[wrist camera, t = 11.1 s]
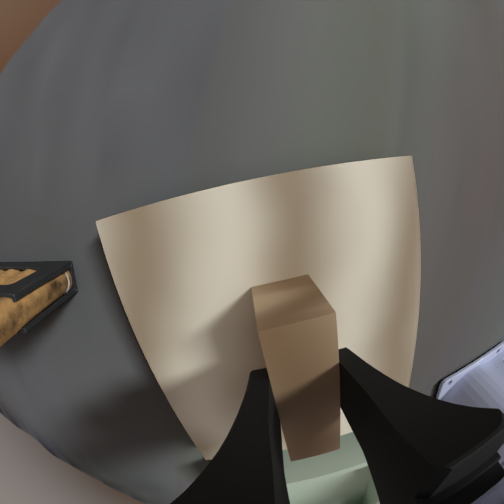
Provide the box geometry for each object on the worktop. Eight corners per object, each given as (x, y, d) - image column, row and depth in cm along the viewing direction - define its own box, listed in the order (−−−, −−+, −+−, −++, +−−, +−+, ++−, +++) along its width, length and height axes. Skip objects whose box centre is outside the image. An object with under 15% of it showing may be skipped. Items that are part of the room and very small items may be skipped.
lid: (400, 156, 11) (464, 153, 7) (397, 403, 15) (423, 445, 11) (105, 217, 11) (47, 239, 7) (206, 449, 15) (203, 500, 11)
